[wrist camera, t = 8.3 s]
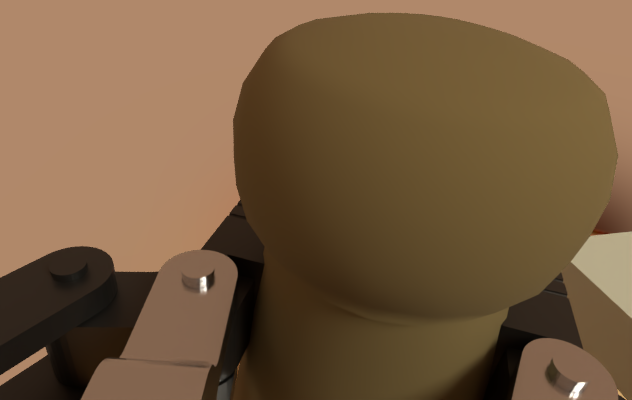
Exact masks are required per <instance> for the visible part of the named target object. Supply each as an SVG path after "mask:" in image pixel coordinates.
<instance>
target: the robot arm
mask: <svg viewBox="0 0 632 400" xmlns="http://www.w3.org/2000/svg"><path fill="white" fill-rule="evenodd" d="M264 247H265V246H264V245H263V243H262V242H261V241H260V239H259V238H258V236H257V235H256V233H255V232H254V230H253V229H252V227H251V226H250V225H249V223H248V222H247V219H246V216H245V213H244V209H243V206H242V203H241V200H240V201H239V202H238V205H237V206H235V207H234V208H233V210H232V211H231V212H230V215H229V216H227V217H226V218H225V220H224V221H223V222H222V223H221V225H220V226H219V227H218V228H217V230H216V231H215V232H214V234H213V235H212V236H211V237H210V239H209V240H208V241H207V242H206V244H205V245H204V246H203V247H202V249H201V250H193V251H188V252H184V253H181V254H179V255H177V256H174V257H173V258H171V259H169V260H168V261H167V262H166V263H165V264H164V265H163V266H162V267H161V269H160V271H159V272H115V270H114V264H113V261H112V258H111V257H110V256H109V255H108V254H107V253H106V252H104V251H102V250H100V249H97V248H93V247H83V246H81V247H70V248H65V249H61V250H58V251H55V252H52V253H50V254H48V255H46V256H44V257H42V258H40V259H38V260H36V261H34V262H31V263H29V264H27V265H25V266H23V267H21V268H19V269H17V270H15V271H13V272H11V273H9V274H7V275H6V276H3V277H1V278H0V375H1V374H3V373H4V372H6V371H7V370H9V369H11V368H12V367H14V366H15V365H17V364H18V363H20V362H22V361H23V360H25V359H26V358H28V357H29V356H31V355H33V354H34V353H36V352H37V351H39V350H40V349H42V348H43V347H46V350H47V353H48V355H47V356H45V357H44V358H42V359H41V360H39V361H38V362H36V363H35V364H33V365H32V366H30V367H29V368H27V369H26V370H24V371H22V372H21V373H19V374H18V375H16V376H15V377H13V378H12V379H10V380H9V381H7V382H6V383H4V384H3V385H1V386H0V400H233V395H234V390H235V384H236V379H237V366H238V364H239V362H240V360H241V359H242V357H243V355H244V353H245V351H246V349H247V347H248V345H249V342H250V334H251V327H252V320H253V313H254V308H255V304H256V300H257V295H258V291H259V286H260V282H261V278H262V273H263V269H264V265H265V263H264V256H263V252H264ZM567 295H568V294H567V290H566V287H565V283H563V276H562V273H560V274H559V275H558V276H557V277H556V278H555V279H554V280H553V281H552V282H551V283H550V284H549V285H548V286H547V287H546V288H545V289H544V290H543V291H542V292H541V293H540V294H539V295H536V296H534V297H532V298H529V299H527V300H525V301H522V302H520V303H518V304H515V305H513V306H511V307H509V310H508V314H507V318H506V319H505V320H504V322H503V323H502V325H501V328H500V331H499V335H498V340H497V344H496V349H495V353H494V358H493V363H492V367H491V372H490V376H489V381H488V385H487V389H486V392H485V395H484V398H483V400H625V399H624V398H622V397H621V396H619V395H618V391H617V387H616V384H615V382H614V380H613V378H612V376H611V375H610V373H609V372H608V371H607V369H606V368H605V367H604V366H603V365H602V364H601V363H600V362H599V361H598V360H597V359H596V358H595V357H593V356H592V355H590V354H589V353H588V352H586V351H585V350H583V346H582V343H581V339H580V336H579V332H578V329H577V325H576V322H575V318H574V315H573V311H572V308H571V304H570V301H569V298H567Z"/></svg>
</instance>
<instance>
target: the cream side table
mask: <svg viewBox="0 0 632 400" xmlns="http://www.w3.org/2000/svg"><path fill="white" fill-rule="evenodd" d="M561 273H562V276H563V283H565V287H566V290H567V294H568V295H567V298H569V301H570V304H571V308H572V311H573V315H574V318H575V322H576V325H577V329H578V332H579V336H580V339H581V343H582V346H583V350H585V351H586V352H588V353H589V354H590V355H592V356H593V357H595V358H596V359H597V360H598V361H599V362H600V363H601V364H602V365H603V366H604V367H605V368H606V369H607V371H608V372H609V373H610V375H611V376H612V378H613V380H614V382H615V384H616V387H617V389H618V390H619V391H620V392H621V393H622V394H623V396H624V397H625V398H626V399H627V400H632V232H624V233H614V234H605V235H596V236H590V237H589V238H588V240H587V241H586V242H585V244H584V245H583V246H582V248H581V249H580V250H579V252H578V253H577V254H576V256H575V257H574V258H573V259H572V261H571V262H570V263H569V265H568V266H567V267H566V268H565V269H564V270H563V271H562V272H561Z"/></svg>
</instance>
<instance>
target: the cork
mask: <svg viewBox="0 0 632 400" xmlns="http://www.w3.org/2000/svg"><path fill="white" fill-rule="evenodd" d="M233 127H234V128H233V130H234V131H233V132H234V163H235V175H236V186H237V189H238V192H239V196H240V199H241V203H242V206H243V209H244V213H245V216H246V219H247V222H248V223H249V225H250V226H251V227H252V229H253V230H254V232H255V233H256V235H257V236H258V238H259V239H260V241H261V242H262V243H263V245H264V246H265V247H264V252H263V256H264V263H265V265H264V269H263V273H262V278H261V282H260V286H259V291H258V295H257V300H256V304H255V308H254V313H253V320H252V327H251V334H250V342H249V345H248V347H247V349H246V351H245V353H244V355H243V357H242V359H241V361H240V366H239V371H238V375H237V380H236V385H235V390H234V395H233V400H483V398H484V395H485V392H486V389H487V385H488V381H489V376H490V372H491V367H492V363H493V358H494V353H495V349H496V344H497V340H498V335H499V331H500V328H501V325H502V323H503V322H504V320H505V319H506V318H507V314H508V310H509V307H511V306H513V305H515V304H518V303H520V302H522V301H525V300H527V299H529V298H532V297H534V296H536V295H539V294H540V293H541V292H542V291H543V290H544V289H545V288H546V287H547V286H548V285H549V284H550V283H551V282H552V281H553V280H554V279H555V278H556V277H557V276H558V275H559V274H560V273H561V272H562V271H563V270H564V269H565V268H566V267H567V266H568V265H569V263H570V262H571V261H572V259H573V258H574V257H575V256H576V254H577V253H578V252H579V250H580V249H581V248H582V246H583V245H584V244H585V242H586V241H587V240H588V238H589V237H590V235H591V233H592V231H593V230H594V228H595V226H596V224H597V222H598V220H599V219H600V217H601V215H602V213H603V211H604V209H605V207H606V205H607V203H608V202H609V200H610V196H611V191H612V185H613V180H614V174H615V169H616V164H617V158H618V153H617V148H616V143H615V138H614V132H613V127H612V122H611V117H610V112H609V107H608V104H607V100H606V96H605V93H604V92H603V91H602V90H601V89H600V88H599V87H598V86H597V85H596V84H595V83H594V82H593V81H592V80H591V79H590V78H589V77H588V76H587V75H586V74H585V73H584V72H583V71H582V70H581V69H579V68H578V67H577V66H576V65H574V64H573V63H571V62H570V61H569V60H568V59H565V58H563V57H561V56H559V55H557V54H555V53H553V52H550V51H548V50H546V49H544V48H542V47H539V46H537V45H535V44H532V43H530V42H528V41H525V40H523V39H521V38H518V37H516V36H514V35H511V34H508V33H505V32H502V31H498V30H495V29H492V28H488V27H485V26H481V25H478V24H474V23H470V22H465V21H461V20H457V19H451V18H445V17H439V16H431V15H423V14H408V13H367V14H357V15H348V16H340V17H332V18H323V19H316V20H313V21H310V22H307V23H304V24H301V25H298V26H296V27H295V28H293V29H291V30H289V31H287V32H285V33H283V34H281V35H279V36H278V37H276V38H275V39H274V40H273V41H272V42H271V43H270V44H269V45H268V47H267V48H266V49H265V50H264V52H263V53H262V55H261V56H260V58H259V60H258V61H257V62H256V64H255V66H254V67H253V69H252V70H251V72H250V73H249V75H248V76H247V78H246V79H245V81H244V82H243V85H242V89H241V93H240V96H239V100H238V104H237V108H236V112H235V116H234V119H233Z"/></svg>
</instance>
